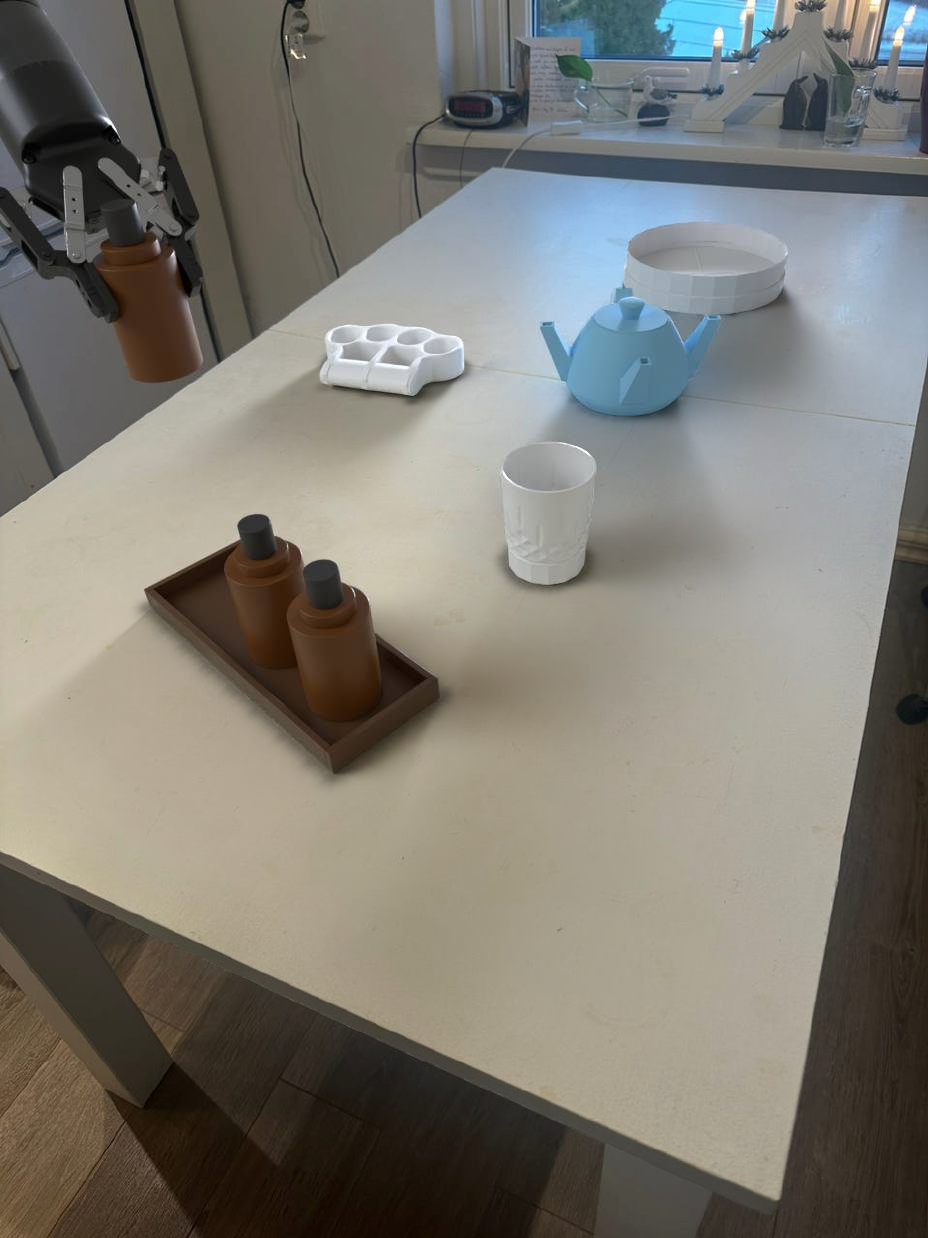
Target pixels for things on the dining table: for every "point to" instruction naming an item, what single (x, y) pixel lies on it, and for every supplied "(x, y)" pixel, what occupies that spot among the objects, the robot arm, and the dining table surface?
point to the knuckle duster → (390, 358)
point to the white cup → (547, 510)
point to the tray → (213, 628)
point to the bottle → (146, 298)
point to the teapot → (629, 356)
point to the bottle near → (335, 645)
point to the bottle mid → (265, 590)
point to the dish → (705, 267)
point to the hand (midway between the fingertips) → (155, 303)
